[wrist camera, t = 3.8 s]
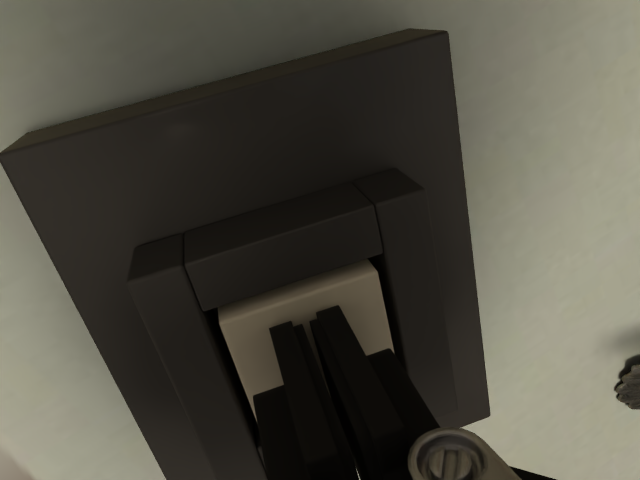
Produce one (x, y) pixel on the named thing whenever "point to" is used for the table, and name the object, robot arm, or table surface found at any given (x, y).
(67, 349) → the table surface
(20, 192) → the button base
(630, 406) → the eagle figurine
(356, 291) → the beige block
